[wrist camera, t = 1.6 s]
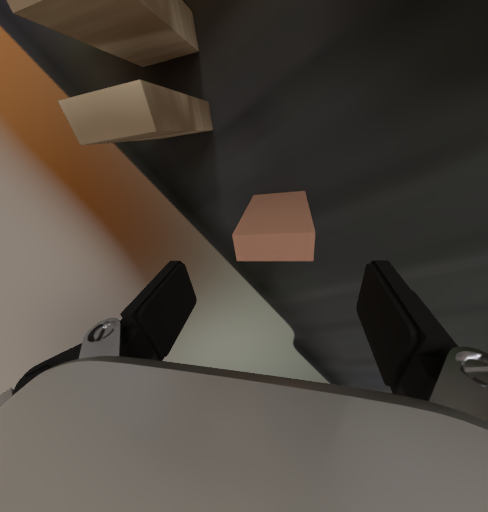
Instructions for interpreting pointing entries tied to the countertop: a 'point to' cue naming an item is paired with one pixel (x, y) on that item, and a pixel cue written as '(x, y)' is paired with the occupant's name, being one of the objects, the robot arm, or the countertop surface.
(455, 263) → the countertop surface
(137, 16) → the domino
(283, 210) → the domino
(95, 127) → the domino
